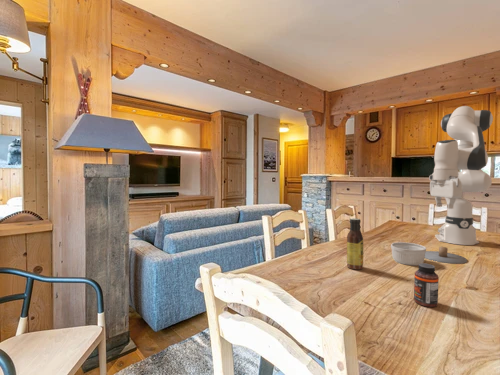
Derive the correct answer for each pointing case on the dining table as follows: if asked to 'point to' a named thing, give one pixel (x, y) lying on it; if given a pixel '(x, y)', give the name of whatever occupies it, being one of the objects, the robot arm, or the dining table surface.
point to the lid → (444, 256)
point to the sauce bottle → (355, 245)
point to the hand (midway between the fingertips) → (444, 207)
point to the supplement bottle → (426, 285)
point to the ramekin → (408, 253)
